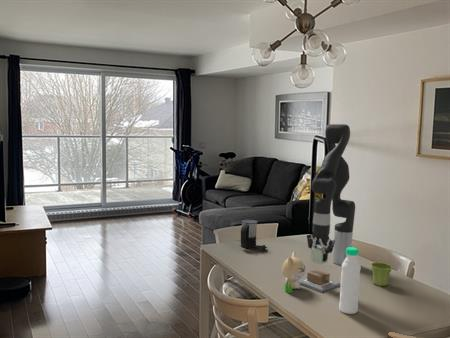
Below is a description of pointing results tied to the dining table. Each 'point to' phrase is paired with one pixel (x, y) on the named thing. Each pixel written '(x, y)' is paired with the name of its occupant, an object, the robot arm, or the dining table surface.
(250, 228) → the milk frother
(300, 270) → the kitten
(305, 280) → the plate
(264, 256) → the dining table surface
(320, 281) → the walnut base block
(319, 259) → the sage block
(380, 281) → the plant pot
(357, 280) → the water bottle
